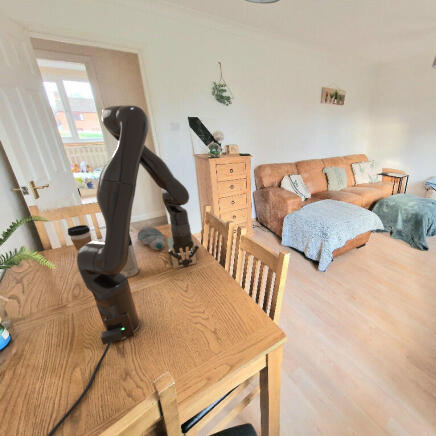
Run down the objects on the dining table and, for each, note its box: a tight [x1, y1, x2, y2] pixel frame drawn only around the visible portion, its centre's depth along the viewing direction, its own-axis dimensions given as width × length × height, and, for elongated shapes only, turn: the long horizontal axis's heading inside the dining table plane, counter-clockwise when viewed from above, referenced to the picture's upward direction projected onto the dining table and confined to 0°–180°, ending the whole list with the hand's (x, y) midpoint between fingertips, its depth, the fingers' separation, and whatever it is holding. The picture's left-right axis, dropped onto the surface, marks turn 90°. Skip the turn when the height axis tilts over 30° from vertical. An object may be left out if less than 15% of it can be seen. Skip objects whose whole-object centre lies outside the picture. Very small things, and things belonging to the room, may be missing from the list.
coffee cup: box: [67, 224, 93, 253], centre depth 121 cm, size 8×8×15 cm
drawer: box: [171, 248, 197, 269], centre depth 118 cm, size 17×10×7 cm, turn 29°
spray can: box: [120, 234, 140, 278], centre depth 106 cm, size 7×7×20 cm
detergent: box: [137, 226, 166, 251], centre depth 134 cm, size 13×7×25 cm
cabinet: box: [167, 235, 198, 266], centre depth 124 cm, size 14×12×9 cm
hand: (186, 265), depth 110 cm, fingers closed
